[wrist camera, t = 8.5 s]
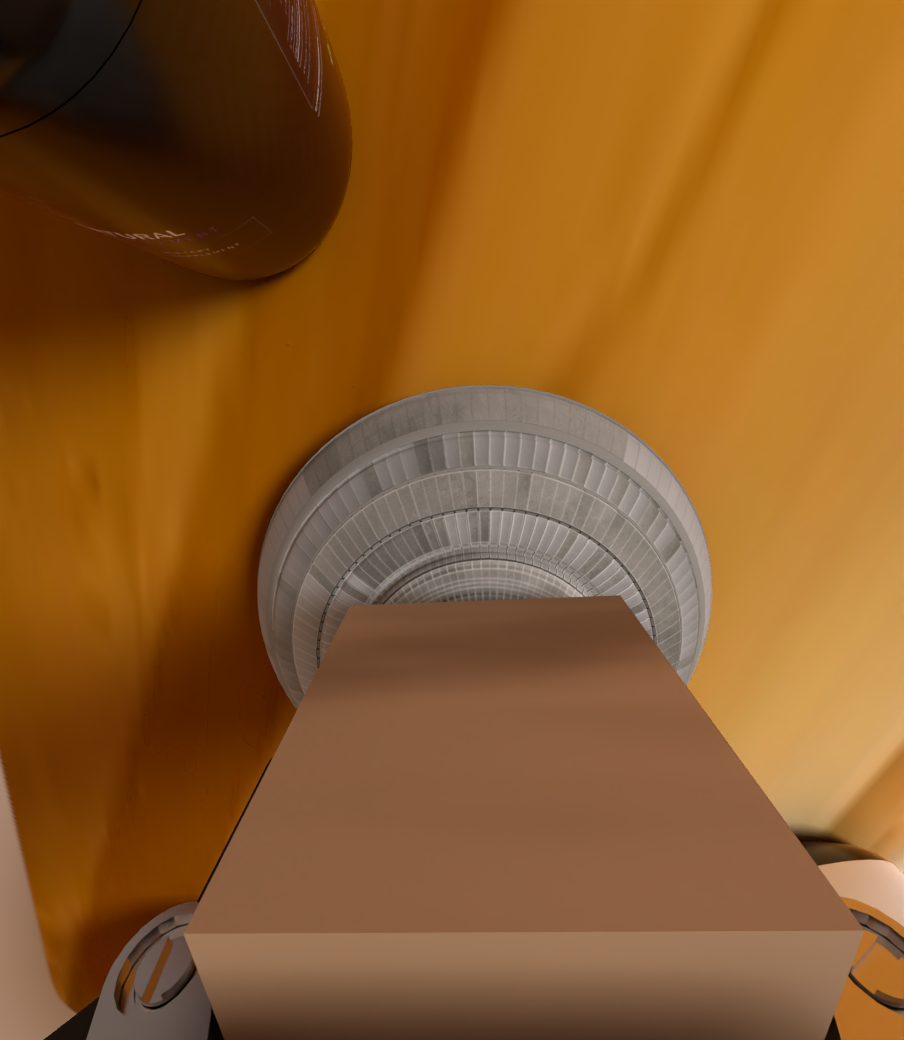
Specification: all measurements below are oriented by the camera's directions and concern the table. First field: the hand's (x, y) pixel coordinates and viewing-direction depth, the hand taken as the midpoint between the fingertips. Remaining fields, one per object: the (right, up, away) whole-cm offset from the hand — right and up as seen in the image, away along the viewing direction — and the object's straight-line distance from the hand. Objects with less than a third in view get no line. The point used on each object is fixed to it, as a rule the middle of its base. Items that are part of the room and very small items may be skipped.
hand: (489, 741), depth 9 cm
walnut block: (0, 0, +1) cm, 1 cm away
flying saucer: (0, +2, +6) cm, 7 cm away
